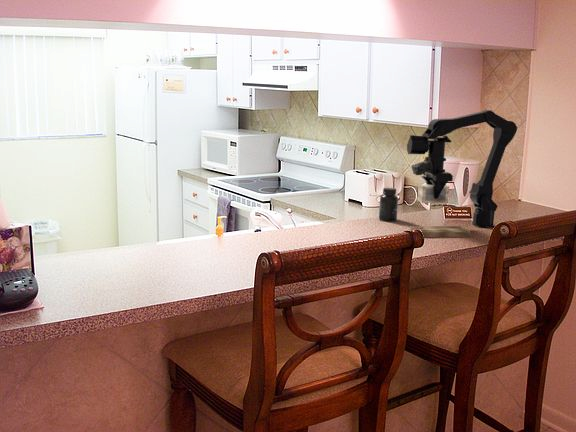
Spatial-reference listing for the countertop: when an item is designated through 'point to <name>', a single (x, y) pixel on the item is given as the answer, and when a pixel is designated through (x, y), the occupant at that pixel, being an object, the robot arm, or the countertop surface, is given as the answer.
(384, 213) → the supplement bottle
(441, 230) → the notched ledge
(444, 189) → the ash frame block
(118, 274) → the countertop surface
